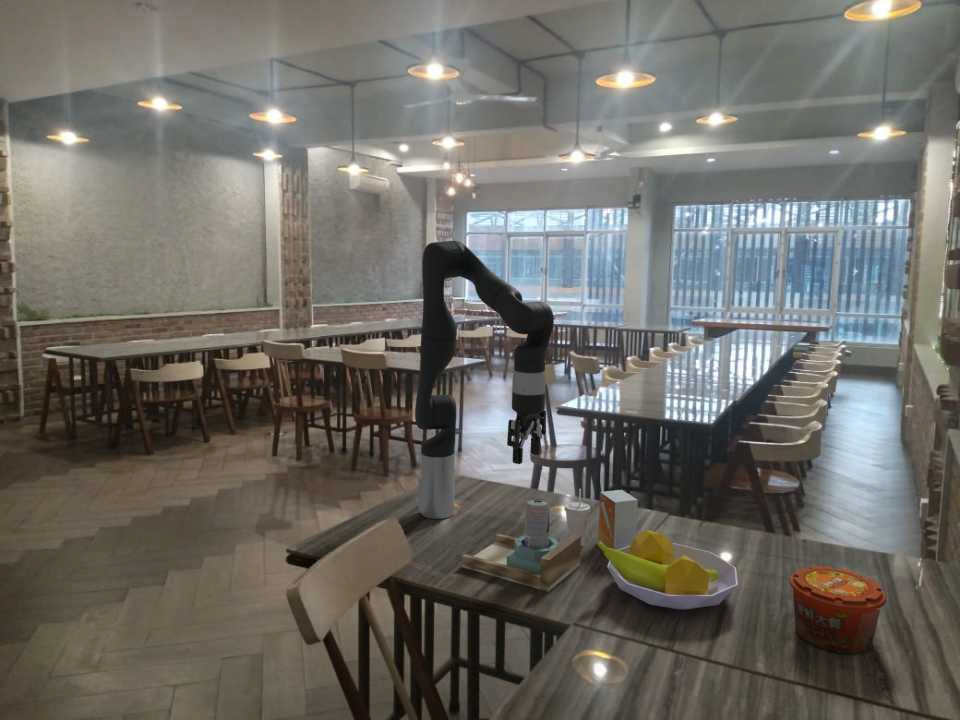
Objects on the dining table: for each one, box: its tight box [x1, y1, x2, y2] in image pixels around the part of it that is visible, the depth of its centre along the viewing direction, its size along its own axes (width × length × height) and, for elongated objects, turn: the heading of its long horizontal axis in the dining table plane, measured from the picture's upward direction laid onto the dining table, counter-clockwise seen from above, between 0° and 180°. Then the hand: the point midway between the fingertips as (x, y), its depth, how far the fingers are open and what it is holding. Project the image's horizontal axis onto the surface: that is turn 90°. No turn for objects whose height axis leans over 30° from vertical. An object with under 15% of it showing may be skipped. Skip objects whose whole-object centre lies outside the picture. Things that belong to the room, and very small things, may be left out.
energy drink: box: [524, 497, 550, 549], centre depth 157 cm, size 5×5×12 cm
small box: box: [597, 489, 639, 550], centre depth 171 cm, size 8×6×13 cm
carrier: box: [507, 534, 560, 574], centre depth 158 cm, size 10×10×5 cm
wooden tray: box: [461, 533, 582, 593], centre depth 160 cm, size 22×16×7 cm
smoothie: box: [563, 488, 591, 547], centre depth 173 cm, size 6×6×14 cm
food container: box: [788, 565, 887, 655], centre depth 130 cm, size 16×16×11 cm
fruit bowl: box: [596, 529, 739, 611], centre depth 147 cm, size 28×27×11 cm
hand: (526, 458), depth 162 cm, fingers open, 8 cm apart
